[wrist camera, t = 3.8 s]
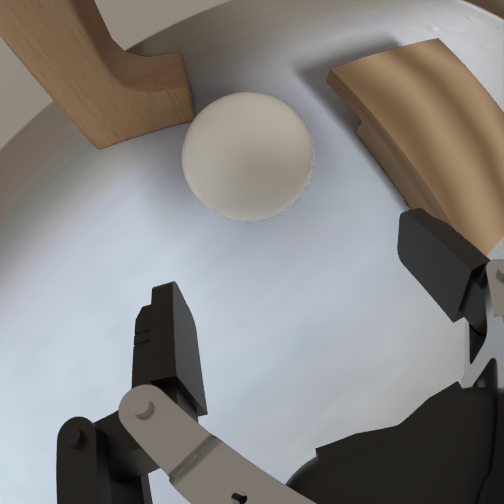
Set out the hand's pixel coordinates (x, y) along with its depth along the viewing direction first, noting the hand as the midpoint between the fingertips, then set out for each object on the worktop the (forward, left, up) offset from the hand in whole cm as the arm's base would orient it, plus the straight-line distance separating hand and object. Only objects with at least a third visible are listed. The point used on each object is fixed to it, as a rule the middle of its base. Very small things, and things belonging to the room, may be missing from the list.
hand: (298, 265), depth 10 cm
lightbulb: (+2, +6, -11) cm, 13 cm away
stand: (+18, +2, -11) cm, 21 cm away
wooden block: (-2, +18, -11) cm, 21 cm away
